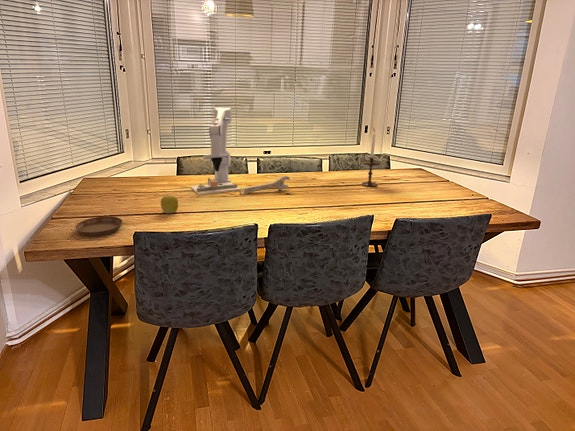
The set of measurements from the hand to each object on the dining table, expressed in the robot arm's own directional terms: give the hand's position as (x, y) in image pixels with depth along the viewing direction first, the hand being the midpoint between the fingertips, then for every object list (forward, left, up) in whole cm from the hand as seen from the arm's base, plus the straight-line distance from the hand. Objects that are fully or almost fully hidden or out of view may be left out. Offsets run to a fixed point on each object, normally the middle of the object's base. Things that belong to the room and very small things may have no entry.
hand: (216, 170), depth 228 cm
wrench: (+18, +22, -10) cm, 30 cm away
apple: (+32, -34, -10) cm, 48 cm away
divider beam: (+2, -2, -10) cm, 10 cm away
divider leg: (+2, -4, -8) cm, 10 cm away
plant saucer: (+43, -65, -10) cm, 79 cm away
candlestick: (+30, +86, -10) cm, 92 cm away
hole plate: (+2, -2, -10) cm, 10 cm away
